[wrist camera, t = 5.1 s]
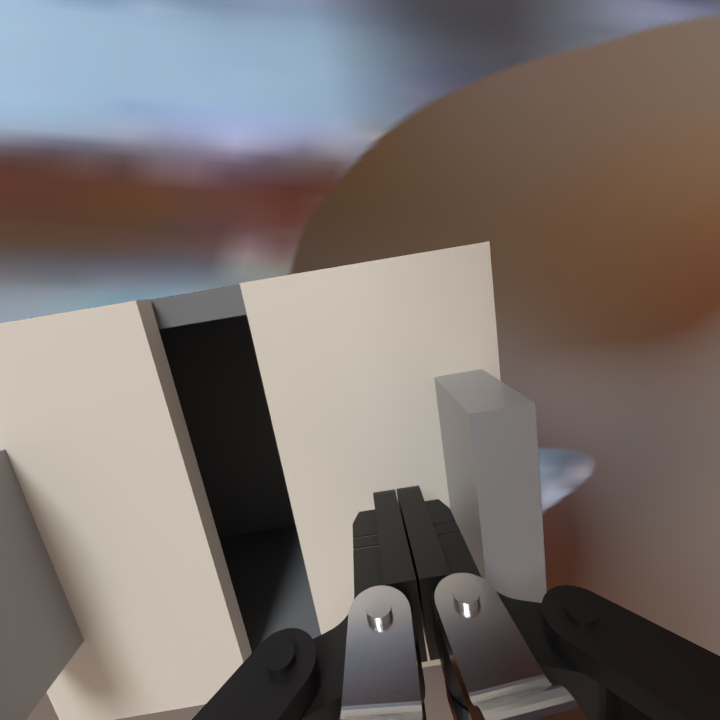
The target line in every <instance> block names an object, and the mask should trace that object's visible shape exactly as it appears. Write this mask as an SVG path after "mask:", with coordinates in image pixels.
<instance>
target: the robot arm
mask: <svg viewBox="0 0 720 720" xmlns="http://www.w3.org/2000/svg"><path fill="white" fill-rule="evenodd" d="M373 498H374V506H375V509H374V510H367V511H361V512H359V513H358V515H357V516H356V518H355V520H354V522H353V562H354V601H353V602H352V604H351V606H350V609H349V613H348V615H347V616H346V617H345V619H344V620H343V621H342V622H341V623H340V624H339V625H337V626H336V627H335V628H333V629H331V630H330V631H328V632H326V633H324V634H322V635H320V636H318V637H316V638H314V639H312V637H311V636H310V635H309V634H308V633H307V632H306V631H304V630H302V629H298V628H286V629H282V630H279V631H277V632H275V633H273V634H272V635H270V636H269V637H267V638H266V639H265V640H264V641H263V642H262V643H261V644H260V645H259V646H258V647H257V648H256V649H255V650H254V651H253V652H252V654H251V655H250V656H249V657H248V658H247V659H246V660H245V661H244V662H243V664H242V665H241V666H240V667H239V668H238V669H237V670H236V671H235V672H234V674H233V675H232V676H231V677H230V678H229V679H228V680H227V681H226V682H225V684H224V685H223V686H222V687H221V688H220V689H219V690H218V691H217V692H216V694H215V695H214V696H213V697H212V698H211V699H210V700H209V701H208V702H207V704H206V705H205V706H204V707H203V708H202V709H201V710H200V711H199V713H198V714H197V715H196V716H195V717H194V718H193V719H192V720H426V712H425V704H424V698H425V683H424V676H423V669H422V662H426V661H428V660H427V653H426V646H425V639H426V644H427V648H428V652H429V657H430V661H431V660H437V659H440V662H441V665H442V670H443V674H444V678H445V686H446V693H447V698H448V702H449V706H450V709H451V712H452V715H453V719H454V720H720V656H718V655H716V654H714V653H712V652H710V651H708V650H706V649H704V648H702V647H700V646H698V645H696V644H694V643H692V642H690V641H688V640H686V639H684V638H682V637H680V636H678V635H676V634H675V633H672V632H671V631H669V630H666V629H664V628H663V627H661V626H659V625H656V624H655V623H653V622H651V621H649V620H647V619H645V618H643V617H641V616H639V615H637V614H635V613H633V612H631V611H629V610H627V609H625V608H623V607H621V606H619V605H617V604H615V603H613V602H611V601H609V600H607V599H605V598H603V597H601V596H599V595H597V594H595V593H593V592H591V591H589V590H586V589H583V588H580V587H576V586H567V585H566V586H558V587H555V588H552V589H551V590H549V591H548V592H547V593H546V594H545V595H544V597H543V600H542V603H538V602H531V601H523V600H517V599H513V598H510V597H507V596H504V595H502V594H500V593H498V592H497V591H495V589H494V588H493V586H492V585H491V584H490V583H489V582H487V581H486V580H485V579H483V578H482V576H481V575H480V573H479V570H478V568H477V566H476V564H475V562H474V560H473V557H472V555H471V553H470V551H469V549H468V547H467V544H466V542H465V540H464V538H463V536H462V534H461V532H460V529H459V527H458V525H457V523H456V521H455V518H454V516H453V514H452V512H451V510H450V508H449V507H448V506H446V505H445V504H444V503H443V502H441V501H440V500H439V499H436V500H430V501H424V498H423V495H422V492H421V490H420V487H419V485H417V486H411V487H405V488H398V489H397V496H396V492H395V489H393V490H386V491H380V492H374V493H373ZM397 498H398V500H397ZM423 630H424V631H423ZM424 635H425V639H424Z"/></svg>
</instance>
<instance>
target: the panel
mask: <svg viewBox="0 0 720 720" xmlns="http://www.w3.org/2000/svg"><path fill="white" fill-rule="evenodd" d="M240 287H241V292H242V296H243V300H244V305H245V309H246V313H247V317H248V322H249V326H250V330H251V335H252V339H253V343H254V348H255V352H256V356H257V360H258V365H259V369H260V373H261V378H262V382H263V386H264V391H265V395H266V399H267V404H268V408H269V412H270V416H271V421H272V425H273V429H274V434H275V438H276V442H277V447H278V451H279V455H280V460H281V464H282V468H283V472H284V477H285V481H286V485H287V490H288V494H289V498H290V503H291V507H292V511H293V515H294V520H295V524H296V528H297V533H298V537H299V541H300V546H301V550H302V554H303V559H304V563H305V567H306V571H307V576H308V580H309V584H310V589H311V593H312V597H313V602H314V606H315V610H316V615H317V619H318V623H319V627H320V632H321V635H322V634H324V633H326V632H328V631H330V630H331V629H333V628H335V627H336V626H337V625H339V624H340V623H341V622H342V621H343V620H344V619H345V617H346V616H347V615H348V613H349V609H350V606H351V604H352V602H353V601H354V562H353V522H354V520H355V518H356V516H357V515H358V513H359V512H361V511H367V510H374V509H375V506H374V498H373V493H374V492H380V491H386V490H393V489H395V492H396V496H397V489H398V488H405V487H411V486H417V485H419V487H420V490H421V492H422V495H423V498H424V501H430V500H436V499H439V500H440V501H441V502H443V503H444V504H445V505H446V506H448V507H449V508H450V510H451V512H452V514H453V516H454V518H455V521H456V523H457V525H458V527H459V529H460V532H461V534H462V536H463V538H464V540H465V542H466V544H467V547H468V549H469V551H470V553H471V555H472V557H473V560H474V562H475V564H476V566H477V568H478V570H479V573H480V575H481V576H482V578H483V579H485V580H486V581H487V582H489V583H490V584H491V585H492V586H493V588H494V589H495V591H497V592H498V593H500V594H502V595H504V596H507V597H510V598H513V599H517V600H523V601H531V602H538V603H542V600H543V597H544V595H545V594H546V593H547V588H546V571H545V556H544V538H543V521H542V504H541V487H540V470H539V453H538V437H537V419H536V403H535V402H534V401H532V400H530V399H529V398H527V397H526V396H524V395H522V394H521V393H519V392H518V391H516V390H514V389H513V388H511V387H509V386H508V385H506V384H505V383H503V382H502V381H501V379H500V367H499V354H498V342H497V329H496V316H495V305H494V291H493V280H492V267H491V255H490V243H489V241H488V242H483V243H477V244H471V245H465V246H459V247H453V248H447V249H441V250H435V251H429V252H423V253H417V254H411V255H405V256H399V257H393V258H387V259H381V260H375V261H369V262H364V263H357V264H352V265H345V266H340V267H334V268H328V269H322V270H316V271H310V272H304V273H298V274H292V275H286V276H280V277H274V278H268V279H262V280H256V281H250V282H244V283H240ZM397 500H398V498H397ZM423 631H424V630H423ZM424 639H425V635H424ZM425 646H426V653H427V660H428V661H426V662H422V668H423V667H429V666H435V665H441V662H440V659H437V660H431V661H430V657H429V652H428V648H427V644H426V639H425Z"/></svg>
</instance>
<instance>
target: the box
mask: <svg viewBox="0 0 720 720" xmlns="http://www.w3.org/2000/svg"><path fill="white" fill-rule="evenodd" d="M150 301H151V304H152V308H153V311H154V315H155V318H156V322H157V325H158V329H159V332H160V336H161V339H162V343H163V346H164V349H165V353H166V356H167V360H168V363H169V367H170V370H171V374H172V377H173V381H174V384H175V388H176V391H177V395H178V398H179V401H180V405H181V408H182V412H183V415H184V419H185V422H186V426H187V429H188V433H189V436H190V440H191V443H192V446H193V450H194V453H195V457H196V460H197V464H198V467H199V471H200V474H201V478H202V481H203V485H204V488H205V492H206V495H207V498H208V502H209V505H210V509H211V512H212V516H213V519H214V523H215V526H216V530H217V533H218V537H219V540H220V543H221V547H222V550H223V554H224V557H225V561H226V564H227V568H228V571H229V575H230V578H231V582H232V585H233V588H234V592H235V595H236V599H237V602H238V606H239V609H240V613H241V616H242V620H243V623H244V627H245V630H246V634H247V637H248V640H249V644H250V647H251V651H252V652H253V651H254V650H255V649H256V648H257V647H258V646H259V645H260V644H261V643H262V642H263V641H264V640H265V639H266V638H267V637H269V636H270V635H272V634H273V633H275V632H277V631H279V630H282V629H286V628H298V629H302V630H304V631H306V632H307V633H308V634H309V635H310V636H311V637H312V639H314V638H316V637H318V636H320V635H321V632H320V627H319V623H318V619H317V615H316V610H315V606H314V602H313V597H312V593H311V589H310V584H309V580H308V576H307V571H306V567H305V563H304V559H303V554H302V550H301V546H300V541H299V537H298V533H297V528H296V524H295V520H294V515H293V511H292V507H291V503H290V498H289V494H288V490H287V485H286V481H285V477H284V472H283V468H282V464H281V460H280V455H279V451H278V447H277V442H276V438H275V434H274V429H273V425H272V421H271V416H270V412H269V408H268V404H267V399H266V395H265V391H264V386H263V382H262V378H261V373H260V369H259V365H258V360H257V356H256V352H255V348H254V343H253V339H252V335H251V330H250V326H249V322H248V317H247V313H246V309H245V305H244V300H243V296H242V292H241V287H240V285H235V286H229V287H223V288H217V289H211V290H205V291H199V292H193V293H188V294H182V295H176V296H170V297H164V298H158V299H152V300H150Z"/></svg>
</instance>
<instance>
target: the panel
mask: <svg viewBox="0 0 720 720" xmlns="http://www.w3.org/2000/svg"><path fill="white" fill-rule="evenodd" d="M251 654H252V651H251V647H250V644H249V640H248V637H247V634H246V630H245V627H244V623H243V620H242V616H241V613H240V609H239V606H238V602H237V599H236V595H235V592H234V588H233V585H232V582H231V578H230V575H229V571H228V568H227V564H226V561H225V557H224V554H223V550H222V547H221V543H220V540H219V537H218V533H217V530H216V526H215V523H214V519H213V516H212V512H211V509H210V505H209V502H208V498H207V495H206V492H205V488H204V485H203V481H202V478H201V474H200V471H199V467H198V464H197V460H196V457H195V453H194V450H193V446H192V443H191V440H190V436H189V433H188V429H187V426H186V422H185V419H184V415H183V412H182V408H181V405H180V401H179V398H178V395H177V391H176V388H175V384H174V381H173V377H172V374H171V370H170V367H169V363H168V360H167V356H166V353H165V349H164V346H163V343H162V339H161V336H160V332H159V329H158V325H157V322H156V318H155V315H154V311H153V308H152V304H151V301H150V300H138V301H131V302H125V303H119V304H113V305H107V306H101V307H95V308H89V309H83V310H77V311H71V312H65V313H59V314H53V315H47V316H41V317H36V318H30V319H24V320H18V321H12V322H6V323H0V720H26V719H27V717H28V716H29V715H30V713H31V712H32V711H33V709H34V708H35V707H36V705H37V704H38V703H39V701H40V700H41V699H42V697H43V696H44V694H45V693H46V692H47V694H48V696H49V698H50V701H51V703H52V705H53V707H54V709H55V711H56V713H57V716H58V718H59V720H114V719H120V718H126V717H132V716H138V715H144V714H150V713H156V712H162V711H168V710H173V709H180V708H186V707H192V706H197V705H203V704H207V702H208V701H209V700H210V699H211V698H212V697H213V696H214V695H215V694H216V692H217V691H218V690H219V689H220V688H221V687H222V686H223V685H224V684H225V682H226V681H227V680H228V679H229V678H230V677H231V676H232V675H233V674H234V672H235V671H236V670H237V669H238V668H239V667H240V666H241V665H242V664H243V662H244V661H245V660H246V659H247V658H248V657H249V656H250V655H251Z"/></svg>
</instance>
